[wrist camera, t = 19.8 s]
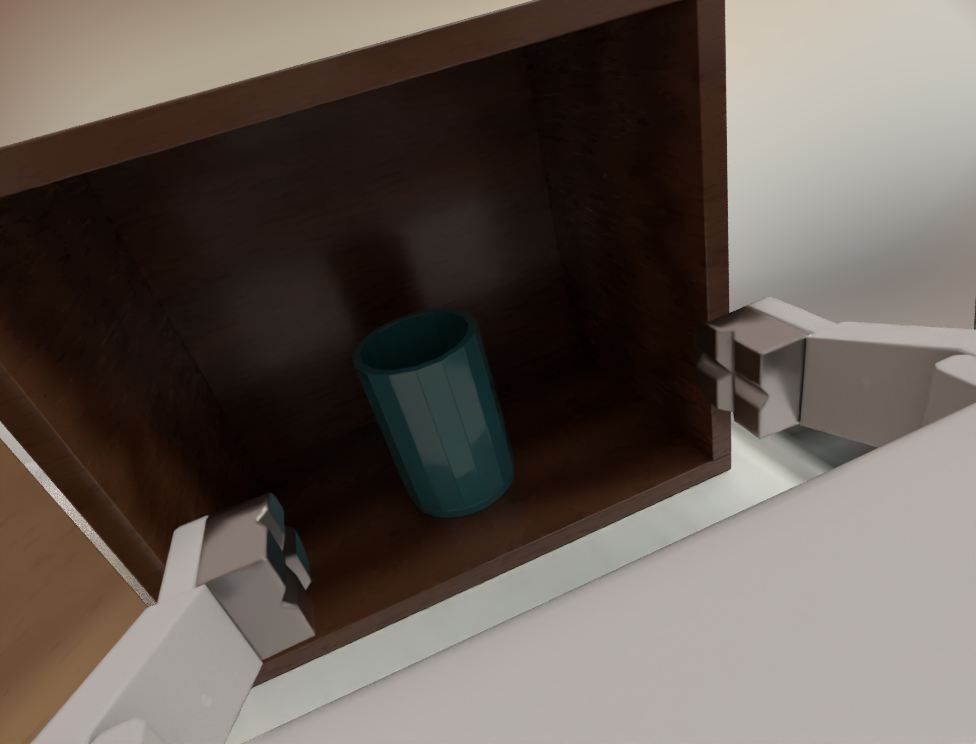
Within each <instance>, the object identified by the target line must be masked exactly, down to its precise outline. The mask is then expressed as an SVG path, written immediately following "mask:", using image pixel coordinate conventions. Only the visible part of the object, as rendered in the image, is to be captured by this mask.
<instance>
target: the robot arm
mask: <svg viewBox="0 0 976 744" xmlns="http://www.w3.org/2000/svg"><path fill="white" fill-rule="evenodd" d="M694 344H695V347H696V348H697V349H698V350H699V351H700V352H701V353H702V354H701V356H700V358H699V360H698V362H697V364H696V366H695V367H696V379H697V383H698V385H699V388H700V390H701V392H702V394H703V395H704V397H705V398H706V399H707V400H708V402H709V403H711V404H712V405H713V406H715V407H716V408H717V409H721V410H726V411H731V412H733V414H734V421H735V422H737V423H738V424H740V425H741V426H742V427H744V428H745V429H747V430H748V431H749V432H751V433H752V434H754V435H755V436H756V437H758V438H759V439H762V438H764V437H767V436H769V435H772V434H774V433H777V432H779V431H781V430H784V429H786V428H789V427H791V426H794V425H796V424H799V423H800V425H802V426H805V427H809V428H812V429H816V430H819V431H823V432H826V433H830V434H833V435H837V436H840V437H844V438H847V439H851V440H854V441H858V442H861V443H865V444H868V445H872V446H875V447H879V448H877V449H875V450H873V451H871V452H869V453H867V454H865V455H862V456H860V457H858V458H856V459H854V460H852V461H849V462H847V463H845V464H843V465H841V466H839V467H836V468H834V469H832V470H830V471H828V472H826V473H823V474H821V475H819V476H817V477H815V478H813V479H810V480H808V481H806V482H804V483H802V484H800V485H797V486H795V487H793V488H791V489H789V490H787V491H784V492H782V493H780V494H778V495H776V496H774V497H771V498H769V499H767V500H765V501H763V502H761V503H758V504H756V505H754V506H752V507H750V508H748V509H745V510H743V511H741V512H739V513H737V514H735V515H733V516H730V517H728V518H726V519H724V520H722V521H720V522H717V523H715V524H713V525H711V526H709V527H707V528H704V529H702V530H700V531H698V532H696V533H694V534H692V535H689V536H687V537H685V538H683V539H681V540H679V541H676V542H674V543H672V544H670V545H668V546H666V547H664V548H661V549H659V550H657V551H655V552H653V553H651V554H649V555H646V556H644V557H642V558H640V559H638V560H636V561H634V562H631V563H629V564H627V565H625V566H623V567H621V568H619V569H616V570H614V571H612V572H610V573H608V574H606V575H604V576H601V577H599V578H597V579H595V580H593V581H591V582H588V583H586V584H584V585H582V586H580V587H578V588H576V589H573V590H571V591H569V592H567V593H565V594H563V595H561V596H558V597H556V598H554V599H552V600H550V601H548V602H546V603H543V604H541V605H539V606H537V607H535V608H533V609H531V610H528V611H526V612H524V613H522V614H520V615H518V616H515V617H513V618H511V619H509V620H507V621H505V622H503V623H500V624H498V625H496V626H494V627H492V628H490V629H487V630H485V631H483V632H481V633H479V634H477V635H475V636H472V637H470V638H468V639H466V640H464V641H462V642H460V643H457V644H455V645H453V646H451V647H449V648H447V649H444V650H442V651H440V652H438V653H436V654H434V655H432V656H429V657H427V658H425V659H423V660H421V661H419V662H416V663H414V664H412V665H410V666H408V667H406V668H404V669H401V670H399V671H397V672H395V673H393V674H391V675H389V676H386V677H384V678H382V679H380V680H378V681H376V682H373V683H371V684H369V685H367V686H365V687H363V688H361V689H358V690H356V691H354V692H352V693H350V694H348V695H345V696H343V697H341V698H339V699H337V700H335V701H333V702H330V703H328V704H326V705H324V706H322V707H320V708H318V709H315V710H313V711H311V712H309V713H307V714H305V715H302V716H300V717H298V718H296V719H294V720H292V721H290V722H287V723H285V724H283V725H281V726H279V727H277V728H274V729H272V730H270V731H268V732H266V733H264V734H262V735H259V736H257V737H255V738H253V739H251V740H249V741H246V742H244V743H242V744H976V330H973V329H958V328H942V327H926V326H910V325H894V324H878V323H877V324H876V323H861V322H845V321H844V322H841V323H839V324H836V323H833V322H831V321H829V320H826V319H824V318H821V317H818V316H817V315H814V314H812V313H809V312H807V311H804V310H802V309H800V308H797V307H795V306H792V305H790V304H788V303H785V302H783V301H780V300H778V299H775V298H762V299H760V300H758V301H756V302H753V303H751V304H749V305H746V306H744V307H742V308H740V309H738V310H736V311H733V312H731V313H728V314H726V315H723V316H721V317H719V318H716V319H714V320H711V321H709V322H706V323H704V324H702V325H699V326H697V328H696V331H695V334H694ZM310 583H311V573H310V566H309V562H308V558H307V554H306V551H305V548H304V546H303V544H302V541H301V539H300V537H299V535H298V534H297V532H296V530H295V529H294V528H292V527H289V526H287V525H285V522H284V509H283V507H282V506H281V504H280V502H279V501H278V499H277V497H276V496H275V495H274V494H272V493H271V492H270V493H267V494H264V495H261V496H259V497H256V498H253V499H251V500H248V501H245V502H243V503H240V504H237V505H234V506H232V507H229V508H226V509H224V510H221V511H218V512H215V513H213V514H211V515H210V516H204V517H202V518H199V519H197V520H194V521H192V522H189V523H187V524H184V525H182V526H179V527H178V528H177V529H176V530H175V531H174V533H173V537H172V541H171V545H170V549H169V554H168V558H167V562H166V567H165V571H164V575H163V579H162V584H161V588H160V592H159V596H158V601H157V604H155V605H152V606H150V607H148V608H146V609H145V610H144V612H143V613H142V614H141V615H140V616H139V617H138V619H137V620H136V621H135V622H134V623H133V624H132V626H131V627H130V628H129V629H128V630H127V631H126V633H125V634H124V635H123V636H122V637H121V638H120V640H119V641H118V642H117V643H116V644H115V645H114V647H113V648H112V649H111V650H110V651H109V652H108V654H107V655H106V656H105V657H104V658H103V659H102V661H101V662H100V663H99V664H98V665H97V666H96V668H95V669H94V670H93V671H92V672H91V673H90V675H89V676H88V677H87V678H86V679H85V680H84V682H83V683H82V684H81V685H80V686H79V687H78V689H77V690H76V691H75V692H74V693H73V694H72V696H71V697H70V698H69V699H68V700H67V701H66V702H65V704H64V705H63V706H62V707H61V708H60V709H59V711H58V712H57V713H56V714H55V715H54V716H53V718H52V719H51V720H50V721H49V722H48V723H47V725H46V726H45V727H44V728H43V729H42V730H41V732H40V733H39V734H38V735H37V736H36V737H35V739H34V740H33V741H32V742H31V743H30V744H225V742H226V739H227V737H228V735H229V733H230V731H231V729H232V727H233V725H234V723H235V721H236V719H237V716H238V714H239V712H240V710H241V708H242V706H243V704H244V702H245V700H246V698H247V696H248V693H249V691H250V689H251V687H252V685H253V683H254V681H255V679H256V677H257V675H258V673H259V670H260V668H261V666H262V664H263V663H262V660H264V659H266V658H268V657H271V656H273V655H275V654H277V653H279V652H281V651H283V650H285V649H287V648H290V647H292V646H294V645H296V644H298V643H300V642H302V641H304V640H307V639H309V638H311V637H313V636H315V628H314V613H313V602H312V600H311V598H310V597H309V595H308V593H307V591H306V589H307V588H308V586H309V584H310Z"/></svg>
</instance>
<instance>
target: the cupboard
mask: <svg viewBox="0 0 976 744" xmlns="http://www.w3.org/2000/svg"><path fill="white" fill-rule="evenodd" d="M726 119H727V117H726V45H725V0H533V1H530V2H526V3H523V4H519V5H515V6H511V7H508V8H504V9H501V10H497V11H493V12H490V13H486V14H483V15H479V16H475V17H472V18H468V19H464V20H461V21H457V22H454V23H450V24H446V25H443V26H439V27H435V28H432V29H428V30H424V31H421V32H417V33H413V34H410V35H406V36H403V37H399V38H395V39H392V40H388V41H384V42H381V43H377V44H374V45H370V46H367V47H363V48H359V49H355V50H352V51H348V52H345V53H341V54H337V55H334V56H330V57H326V58H323V59H319V60H316V61H312V62H308V63H305V64H301V65H297V66H294V67H290V68H286V69H283V70H279V71H276V72H272V73H268V74H265V75H261V76H258V77H254V78H250V79H247V80H243V81H239V82H236V83H232V84H229V85H225V86H221V87H218V88H214V89H210V90H207V91H203V92H200V93H196V94H192V95H189V96H185V97H181V98H178V99H174V100H171V101H167V102H164V103H159V104H156V105H153V106H149V107H145V108H141V109H138V110H134V111H130V112H127V113H124V114H120V115H116V116H112V117H109V118H105V119H102V120H98V121H94V122H91V123H87V124H84V125H80V126H76V127H72V128H69V129H65V130H61V131H58V132H55V133H51V134H47V135H43V136H40V137H36V138H32V139H29V140H25V141H22V142H18V143H14V144H11V145H7V146H4V147H0V421H1V423H2V424H3V425H4V426H5V427H6V428H7V430H8V431H9V432H10V433H11V434H12V435H13V437H14V438H15V439H16V440H17V441H18V442H19V443H20V445H21V446H22V447H23V448H24V449H25V450H26V451H27V453H28V454H29V455H30V456H31V457H32V459H33V460H34V461H35V462H36V463H37V464H38V466H39V467H40V468H41V469H42V470H43V471H44V473H45V474H46V475H47V476H48V477H49V478H50V480H51V481H52V482H53V483H54V484H55V485H56V487H57V488H58V489H59V490H60V491H61V492H62V494H63V495H64V496H65V497H66V498H67V499H68V500H69V502H70V503H71V504H72V505H73V506H74V507H75V509H76V510H77V511H78V512H79V513H80V514H81V516H82V517H83V518H84V519H85V520H86V521H87V523H88V524H89V525H90V526H91V527H92V528H93V530H94V531H95V532H96V533H97V534H98V535H99V537H100V538H101V539H102V540H103V541H104V542H105V544H106V545H107V546H108V547H109V548H110V549H111V550H112V552H113V553H114V554H115V555H116V556H117V557H118V559H119V560H120V561H121V562H122V563H123V564H124V566H125V567H126V568H127V569H128V570H129V571H130V573H131V574H132V575H133V576H134V577H135V578H136V580H137V581H138V582H139V583H140V584H141V585H142V587H143V588H144V589H145V590H146V591H147V592H148V593H149V595H150V596H151V597H152V598H153V599H154V600H155V602H156V603H157V601H158V596H159V592H160V588H161V584H162V579H163V575H164V571H165V567H166V562H167V558H168V554H169V549H170V545H171V541H172V537H173V533H174V531H175V530H176V529H177V528H178V527H179V526H182V525H184V524H187V523H189V522H192V521H194V520H197V519H199V518H202V517H204V516H210V515H211V514H213V513H215V512H218V511H221V510H224V509H226V508H229V507H232V506H234V505H237V504H240V503H243V502H245V501H248V500H251V499H253V498H256V497H259V496H261V495H264V494H267V493H270V492H271V493H272V494H274V495H275V496H276V497H277V499H278V501H279V502H280V504H281V506H282V507H283V509H284V522H285V525H287V526H289V527H292V528H294V529H295V530H296V532H297V534H298V535H299V537H300V539H301V541H302V544H303V546H304V548H305V551H306V554H307V558H308V562H309V566H310V573H311V583H310V584H309V586H308V588H307V589H306V591H307V593H308V595H309V597H310V598H311V600H312V602H313V613H314V628H315V636H313V637H311V638H309V639H307V640H304V641H302V642H300V643H298V644H296V645H294V646H292V647H290V648H287V649H285V650H283V651H281V652H279V653H277V654H275V655H273V656H271V657H268V658H266V659H264V660H262V663H263V664H262V666H261V668H260V670H259V673H258V675H257V677H256V679H255V681H254V683H253V685H252V687H254V686H256V685H258V684H260V683H262V682H264V681H267V680H269V679H271V678H273V677H275V676H278V675H280V674H282V673H284V672H286V671H289V670H291V669H293V668H295V667H297V666H300V665H302V664H304V663H306V662H308V661H310V660H313V659H315V658H317V657H319V656H321V655H324V654H326V653H328V652H330V651H332V650H335V649H337V648H339V647H341V646H343V645H346V644H348V643H350V642H352V641H354V640H356V639H359V638H361V637H363V636H365V635H367V634H370V633H372V632H374V631H376V630H378V629H381V628H383V627H385V626H387V625H389V624H392V623H394V622H396V621H398V620H400V619H402V618H405V617H407V616H409V615H411V614H413V613H416V612H418V611H420V610H422V609H424V608H427V607H429V606H431V605H433V604H435V603H437V602H440V601H442V600H444V599H446V598H448V597H451V596H453V595H455V594H457V593H459V592H462V591H464V590H466V589H468V588H470V587H473V586H475V585H477V584H479V583H481V582H483V581H486V580H488V579H490V578H492V577H494V576H497V575H499V574H501V573H503V572H505V571H508V570H510V569H512V568H514V567H516V566H519V565H521V564H523V563H525V562H527V561H529V560H532V559H534V558H536V557H538V556H540V555H543V554H545V553H547V552H549V551H551V550H554V549H556V548H558V547H560V546H562V545H564V544H567V543H569V542H571V541H573V540H575V539H578V538H580V537H582V536H584V535H586V534H589V533H591V532H593V531H595V530H597V529H600V528H602V527H604V526H606V525H608V524H610V523H613V522H615V521H617V520H619V519H621V518H624V517H626V516H628V515H630V514H632V513H635V512H637V511H639V510H641V509H643V508H646V507H648V506H650V505H652V504H654V503H656V502H659V501H661V500H663V499H665V498H667V497H670V496H672V495H674V494H676V493H678V492H681V491H683V490H685V489H687V488H689V487H692V486H694V485H696V484H698V483H700V482H702V481H705V480H707V479H709V478H711V477H713V476H716V475H718V474H720V473H722V472H724V471H727V470H729V469H731V411H726V410H721V409H717V408H716V407H715V406H713V405H712V404H711V403H709V402H708V400H707V399H706V398H705V397H704V395H703V394H702V392H701V390H700V388H699V385H698V383H697V379H696V367H695V366H696V364H697V362H698V360H699V358H700V356H701V354H702V353H701V352H700V351H699V350H698V349H697V348H696V347H695V344H694V334H695V331H696V328H697V326H699V325H702V324H704V323H706V322H709V321H711V320H714V319H716V318H719V317H721V316H723V315H726V314H728V313H729V269H728V268H729V264H728V263H729V261H728V190H727V126H726V125H727V122H726V121H727V120H726ZM435 308H454V309H458V310H462V311H465V312H468V313H470V314H471V315H472V316H473V318H474V319H475V320H476V321H477V324H478V327H479V331H480V334H481V338H482V342H483V345H484V349H485V353H486V356H487V360H488V363H489V367H490V371H491V374H492V378H493V381H494V385H495V389H496V392H497V396H498V400H499V403H500V407H501V410H502V414H503V418H504V421H505V425H506V429H507V432H508V436H509V439H510V443H511V447H512V450H513V454H514V461H515V475H514V478H513V481H512V483H511V485H510V486H509V488H508V489H507V491H506V492H505V493H504V494H503V495H502V496H501V497H500V498H499V499H498V500H497V501H495V502H494V503H493V504H491V505H489V506H488V507H486V508H484V509H482V510H480V511H478V512H475V513H473V514H470V515H466V516H462V517H455V518H440V517H434V516H431V515H428V514H426V513H424V512H422V511H420V510H419V509H418V508H417V507H416V506H415V505H414V504H413V502H412V500H411V498H410V497H409V495H408V492H407V490H406V488H405V485H404V483H403V481H402V478H401V476H400V474H399V471H398V469H397V466H396V464H395V462H394V459H393V457H392V455H391V452H390V450H389V448H388V445H387V443H386V441H385V438H384V436H383V433H382V431H381V429H380V426H379V424H378V422H377V419H376V417H375V415H374V412H373V410H372V407H371V405H370V403H369V400H368V398H367V396H366V393H365V391H364V389H363V386H362V384H361V381H360V379H359V377H358V374H357V372H356V370H355V367H354V364H353V360H352V355H353V353H354V351H355V349H356V347H357V345H358V343H359V342H361V341H362V340H363V339H364V338H365V337H366V336H367V335H368V334H370V333H371V332H372V331H373V330H375V329H377V328H379V327H381V326H382V325H384V324H386V323H388V322H390V321H392V320H394V319H397V318H400V317H403V316H405V315H408V314H411V313H414V312H419V311H424V310H429V309H435Z"/></svg>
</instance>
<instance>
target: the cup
mask: <svg viewBox="0 0 976 744" xmlns="http://www.w3.org/2000/svg"><path fill="white" fill-rule="evenodd" d="M352 360H353V364H354V367H355V370H356V372H357V374H358V377H359V379H360V381H361V384H362V386H363V389H364V391H365V393H366V396H367V398H368V400H369V403H370V405H371V407H372V410H373V412H374V415H375V417H376V419H377V422H378V424H379V426H380V429H381V431H382V433H383V436H384V438H385V441H386V443H387V445H388V448H389V450H390V452H391V455H392V457H393V459H394V462H395V464H396V466H397V469H398V471H399V474H400V476H401V478H402V481H403V483H404V485H405V488H406V490H407V492H408V495H409V497H410V498H411V500H412V502H413V504H414V505H415V506H416V507H417V508H418V509H419V510H420V511H422V512H424V513H426V514H428V515H431V516H434V517H440V518H455V517H462V516H466V515H470V514H473V513H475V512H478V511H480V510H482V509H484V508H486V507H488V506H489V505H491V504H493V503H494V502H495V501H497V500H498V499H499V498H500V497H501V496H502V495H503V494H504V493H505V492H506V491H507V489H508V488H509V486H510V485H511V483H512V481H513V478H514V475H515V461H514V454H513V450H512V447H511V443H510V439H509V436H508V432H507V429H506V425H505V421H504V418H503V414H502V410H501V407H500V403H499V400H498V396H497V392H496V389H495V385H494V381H493V378H492V374H491V371H490V367H489V363H488V360H487V356H486V353H485V349H484V345H483V342H482V338H481V334H480V331H479V327H478V324H477V321H476V320H475V319H474V318H473V316H472V315H471V314H470V313H468V312H465V311H462V310H458V309H454V308H435V309H429V310H424V311H419V312H414V313H411V314H408V315H405V316H403V317H400V318H397V319H394V320H392V321H390V322H388V323H386V324H384V325H382V326H381V327H379V328H377V329H375V330H373V331H372V332H371V333H370V334H368V335H367V336H366V337H365V338H364V339H363V340H362V341H361V342H359V343H358V345H357V347H356V349H355V351H354V353H353V355H352Z"/></svg>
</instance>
